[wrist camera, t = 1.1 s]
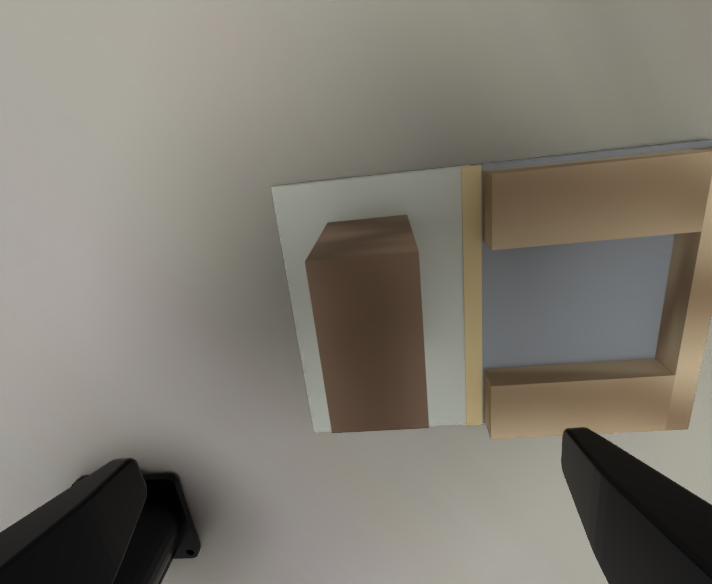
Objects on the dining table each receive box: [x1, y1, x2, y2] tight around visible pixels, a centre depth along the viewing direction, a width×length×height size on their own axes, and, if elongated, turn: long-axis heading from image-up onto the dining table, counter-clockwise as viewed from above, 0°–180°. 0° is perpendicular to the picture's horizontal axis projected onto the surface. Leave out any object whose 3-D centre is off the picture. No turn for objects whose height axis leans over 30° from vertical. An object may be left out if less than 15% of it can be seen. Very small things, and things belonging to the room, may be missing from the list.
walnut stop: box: [305, 215, 429, 433], centre depth 17 cm, size 4×6×6 cm, turn 6°
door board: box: [271, 139, 712, 432], centre depth 20 cm, size 13×18×1 cm
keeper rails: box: [483, 147, 712, 439], centre depth 19 cm, size 12×9×2 cm
